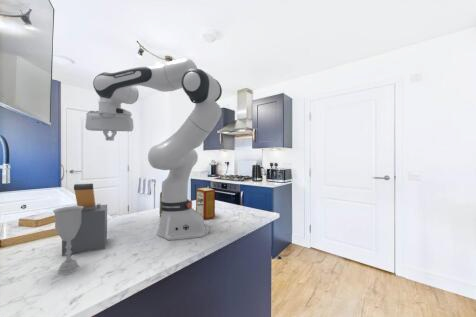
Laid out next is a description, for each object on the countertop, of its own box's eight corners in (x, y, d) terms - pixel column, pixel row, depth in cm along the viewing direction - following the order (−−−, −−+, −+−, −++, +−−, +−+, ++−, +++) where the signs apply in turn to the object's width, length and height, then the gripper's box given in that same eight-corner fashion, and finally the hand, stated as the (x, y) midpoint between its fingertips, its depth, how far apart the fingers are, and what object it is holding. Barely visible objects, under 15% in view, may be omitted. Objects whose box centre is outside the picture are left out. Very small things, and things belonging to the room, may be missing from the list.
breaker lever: (78, 206, 74) (74, 183, 68) (95, 204, 77) (93, 182, 70) (77, 210, 73) (73, 187, 66) (95, 209, 76) (92, 186, 69)
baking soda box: (195, 216, 115) (196, 188, 114) (205, 214, 119) (206, 187, 119) (204, 220, 107) (204, 190, 107) (214, 217, 111) (215, 189, 111)
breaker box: (69, 244, 76) (69, 204, 76) (107, 238, 82) (107, 201, 82) (61, 256, 67) (62, 210, 67) (104, 248, 73) (104, 206, 73)
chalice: (65, 263, 63) (66, 205, 63) (88, 262, 64) (89, 205, 63) (45, 277, 56) (45, 212, 56) (71, 276, 56) (71, 212, 56)
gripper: (82, 108, 91) (81, 139, 91) (129, 110, 93) (129, 140, 93) (91, 112, 97) (90, 140, 97) (135, 113, 99) (134, 141, 99)
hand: (109, 140), depth 95 cm, fingers closed
